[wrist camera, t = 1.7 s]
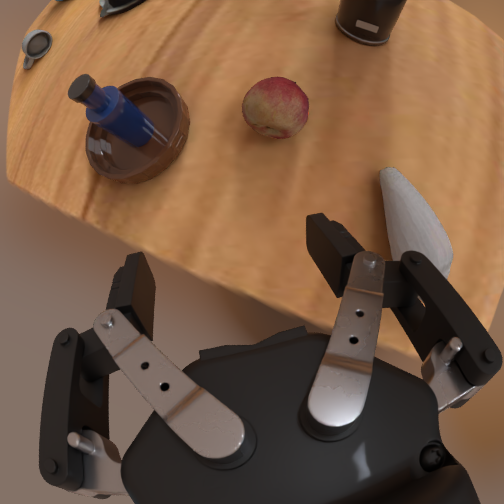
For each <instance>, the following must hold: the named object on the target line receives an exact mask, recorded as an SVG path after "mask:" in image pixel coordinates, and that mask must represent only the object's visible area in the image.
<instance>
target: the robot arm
mask: <svg viewBox="0 0 504 504" xmlns="http://www.w3.org/2000/svg"><path fill="white" fill-rule="evenodd" d="M406 1H407V0H340V5H339V9H338V13H337V16H336V25H337V27H338V28H339V30H340V31H341V32H342V33H343V34H345V35H346V36H347V37H349V38H351V39H353V40H355V41H357V42H359V43H362V44H366V45H373V46H377V45H382V44H385V43H386V42H387V41H388V39H389V37H390V33H391V32H392V30H393V28H394V26H395V24H396V22H397V20H398V18H399V15H400V13H401V11H402V9H403V7H404V5H405V3H406ZM306 244H307V249H308V252H309V254H310V256H311V257H312V259H313V260H314V262H315V263H316V265H317V267H318V268H319V270H320V271H321V273H322V274H323V276H324V278H325V279H326V281H327V282H328V284H329V286H330V287H331V289H332V291H333V292H334V294H335V295H336V297H337V298H340V297H342V301H341V304H340V308H339V311H338V315H337V318H336V321H335V325H334V328H333V331H332V334H331V335H327V334H323V333H307V331H306V328H305V326H301V327H297V328H293V329H290V330H286V331H282V332H279V333H277V334H275V335H273V336H271V337H269V338H267V339H265V340H263V341H261V342H259V343H257V344H254V345H224V346H220V347H215V348H211V349H205V350H200V351H199V354H200V359H198V360H196V361H194V362H192V363H191V364H189V365H188V366H186V367H185V368H184V369H183V370H182V371H181V370H180V369H179V368H178V367H177V366H176V365H175V364H174V363H172V361H170V360H169V359H168V358H167V357H166V356H165V355H164V354H163V353H162V352H161V351H160V350H159V349H158V348H156V346H155V345H154V344H153V343H152V342H151V341H153V320H154V304H155V290H156V286H155V280H154V277H153V274H152V272H151V270H150V267H149V265H148V263H147V260H146V258H145V255H144V253H143V252H138V253H133V254H129V255H127V258H126V261H125V265H124V266H123V267H120V268H119V269H118V271H117V272H116V273H115V275H114V278H113V282H112V283H113V284H112V286H111V290H110V294H109V298H108V303H107V307H106V310H105V311H103V312H102V313H100V314H99V315H98V317H97V318H96V319H95V321H94V324H93V328H91V329H89V330H87V331H85V332H83V333H81V334H79V333H78V332H77V331H76V330H75V329H74V328H67V329H64V330H62V331H61V332H60V333H59V334H58V335H57V336H56V338H55V340H54V343H53V347H52V352H51V356H50V361H49V367H48V372H47V378H46V384H45V390H44V397H43V404H42V413H41V425H40V441H39V469H40V473H41V475H42V477H43V478H44V480H46V482H47V483H49V484H51V485H53V486H56V487H59V488H62V489H65V490H66V491H69V492H72V493H76V494H79V495H83V496H87V497H94V498H98V499H106V498H108V497H110V496H111V495H125V496H130V497H131V499H132V500H133V502H134V503H135V504H480V501H479V498H478V496H477V493H476V491H475V489H474V486H473V484H472V481H471V479H470V477H469V474H468V473H467V471H466V470H465V468H464V467H463V466H462V465H461V464H460V463H459V462H458V461H457V460H456V459H455V458H454V457H453V456H452V455H451V454H450V453H449V452H448V450H447V449H446V448H445V446H444V445H443V443H442V440H441V436H440V431H439V421H438V414H439V413H441V412H442V411H444V410H446V409H447V408H449V407H451V408H459V407H461V406H462V405H464V404H465V403H466V402H467V401H468V400H469V399H470V398H471V397H473V396H474V395H475V394H476V393H477V392H478V391H479V390H480V389H481V388H482V387H483V386H484V385H485V384H486V383H487V382H488V381H489V380H490V379H491V378H492V377H493V376H494V375H495V374H496V373H497V372H498V371H499V370H500V368H501V366H502V355H501V352H500V350H499V349H498V347H497V346H496V344H495V343H494V341H493V340H492V338H491V337H490V335H489V334H488V332H487V331H486V329H485V328H484V327H483V325H482V324H481V322H480V321H479V320H478V318H477V317H476V316H475V314H474V313H473V312H472V310H471V309H470V308H469V306H468V305H467V304H466V303H465V301H464V300H463V299H462V297H461V296H460V295H459V294H458V293H457V291H456V290H455V289H454V288H453V286H452V285H451V284H450V283H449V282H448V281H447V279H446V278H445V277H444V276H443V275H442V274H441V272H440V271H439V270H438V269H437V268H436V267H435V266H434V264H433V263H432V262H431V261H430V260H429V259H428V258H427V257H426V256H425V255H424V254H422V253H420V252H418V251H412V250H410V251H406V252H404V253H403V254H402V256H401V259H400V261H385V260H384V258H383V257H382V256H381V255H379V254H377V253H375V252H371V251H365V249H364V248H363V247H362V246H361V245H360V244H359V243H358V242H357V240H356V239H355V238H354V237H352V235H351V234H350V233H349V232H348V231H347V230H346V228H345V227H344V226H343V225H342V224H340V223H338V222H336V221H334V220H333V221H329V220H328V218H327V217H326V216H325V215H324V214H323V213H317V214H312V215H308V216H307V217H306ZM418 296H419V297H420V298H421V300H422V301H423V302H424V305H425V307H424V306H423V304H422V303H421V301H420V300H419V299H418ZM382 308H391V310H392V311H393V313H394V314H395V316H396V318H397V319H398V321H399V322H400V324H401V326H402V327H403V329H404V331H405V332H406V334H407V336H408V337H409V339H410V341H411V342H412V344H413V346H414V347H415V349H416V351H417V353H418V354H419V356H420V358H421V360H422V361H423V364H422V367H421V373H422V377H423V380H422V379H420V378H418V377H416V376H414V375H412V374H410V373H408V372H405V371H403V370H401V369H399V368H397V367H395V366H393V365H391V364H389V363H387V362H384V361H382V360H380V359H378V358H376V357H374V354H375V349H376V344H377V338H378V332H379V326H380V320H381V313H382ZM120 369H121V370H122V372H123V373H124V374H125V375H126V377H127V378H128V379H129V380H130V382H131V383H132V384H133V385H134V387H135V388H136V389H137V390H138V392H139V393H140V394H141V395H142V396H143V397H144V398H145V400H146V401H147V402H148V403H149V404H150V405H151V406H152V408H153V409H154V411H153V413H152V414H151V415H150V417H149V419H148V420H147V422H146V423H145V424H144V426H143V427H142V429H141V430H140V432H139V433H138V435H137V436H136V438H135V439H134V441H133V442H132V444H131V445H130V447H129V448H128V450H127V451H126V453H125V454H124V457H123V459H122V460H121V458H120V455H119V451H118V448H117V447H116V445H115V444H114V443H113V442H111V441H110V440H109V411H108V409H109V407H108V404H109V401H108V399H109V397H108V396H109V374H111V373H113V372H115V371H117V370H120Z"/></svg>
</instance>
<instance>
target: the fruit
mask: <svg viewBox="0 0 504 504" xmlns="http://www.w3.org/2000/svg"><path fill="white" fill-rule="evenodd" d="M308 109H309V102H308V98H307V96H306V95H305V93H304V92H303V91H302V90H301V88H300V87H299V86H298V85H297V84H296V82H293V81H291V80H288V79H286V78H283V77H271V78H267V79H264V80H261V81H260V82H258V83H257V84H255V85H254V86H253V87H252V88H251V89H250V90H249V91H248V92H247V94H246V96H245V97H244V100H243V103H242V113H243V117H244V119H245V121H246V122H247V124H248V125H249V126H251V127H252V128H253V129H254V130H255V131H257V132H259V133H260V134H262V135H265V136H268V137H272V138H276V139H284V138H289V137H291V136H292V135H294V134H296V133H297V132H299V131H300V130H301V129H302V128H303V126H304V125H305V123H306V122H307V119H308Z"/></svg>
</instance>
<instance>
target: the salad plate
mask: <svg viewBox="0 0 504 504" xmlns="http://www.w3.org/2000/svg"><path fill="white" fill-rule="evenodd" d="M144 1H146V0H100V5H101V6H102V8H103V9H102V10H101V14H100V17H104V16H106V15H110V14H119V13H123V12H125V11H128V10H130V9H132V8H134V7H135V6H137V5H139V4H141V3H143V2H144Z"/></svg>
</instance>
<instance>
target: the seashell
mask: <svg viewBox="0 0 504 504" xmlns="http://www.w3.org/2000/svg"><path fill="white" fill-rule="evenodd" d="M380 185H381V189H382V195H383V201H384V211H385V217H386V224H387V234H388V239H389V243H390V249H391V255H392V259H393V261H400V259H401V256H402V254H403V253H404V252H406V251H410V250H412V251H418V252H420V253H422V254H424V255H425V256H426V257H427V258H428V259H429V260H430V261H431V262H432V263H433V264H434V266H435V267H436V268H437V269H438V270H439V271H440V272H441V274H442V275H443V276H444V277H445V278H446V279H447V278H448V275H449V272H450V266H451V263H452V260H453V251H452V247H451V244H450V241H449V238H448V236H447V234H446V232H445V230H444V228H443V226H442V225H441V223H440V221H439V220H438V218H437V216H436V215H435V213H434V212H433V210H432V209H431V207H430V206H429V205H428V203H427V202H426V201H425V199H424V198H423V197H422V196H421V195H420V193H419V192H418V191H417V190H416V189H415V188H414V186H413V185H412V184H411V183H410V182H409V181H408V180H407V179H406V178H405V177H404V176H403V175H402V174H401V173H400V172H399V171H398V170H397V169H396V168H394V167H393V168H391V167H386V168H385V169H383V170H380ZM418 299H420V300H421V298H420V297H419V296H418ZM422 302H423V301H422ZM423 303H424V302H423Z"/></svg>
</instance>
